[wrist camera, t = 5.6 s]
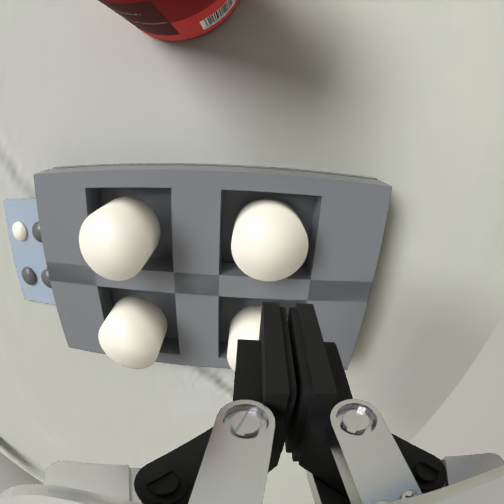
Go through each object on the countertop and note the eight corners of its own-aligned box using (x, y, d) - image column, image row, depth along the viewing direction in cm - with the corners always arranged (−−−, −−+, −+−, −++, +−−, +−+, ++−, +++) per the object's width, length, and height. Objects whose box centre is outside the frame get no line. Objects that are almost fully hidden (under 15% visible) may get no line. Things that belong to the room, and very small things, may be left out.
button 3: (304, 199, 20) (312, 212, 17) (297, 262, 22) (303, 283, 19) (235, 195, 20) (232, 207, 17) (232, 258, 22) (229, 279, 19)
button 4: (294, 305, 22) (299, 331, 19) (286, 353, 23) (290, 381, 21) (230, 303, 22) (227, 329, 19) (229, 351, 23) (226, 378, 20)
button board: (375, 178, 21) (391, 186, 18) (339, 347, 27) (347, 369, 24) (2, 172, 20) (-19, 179, 17) (32, 318, 26) (18, 335, 23)
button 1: (159, 196, 19) (144, 209, 16) (162, 261, 20) (149, 283, 18) (97, 195, 18) (74, 208, 16) (103, 258, 20) (84, 277, 17)
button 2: (164, 298, 21) (154, 323, 19) (169, 346, 23) (161, 372, 20) (108, 292, 21) (92, 315, 19) (118, 339, 23) (105, 364, 20)
